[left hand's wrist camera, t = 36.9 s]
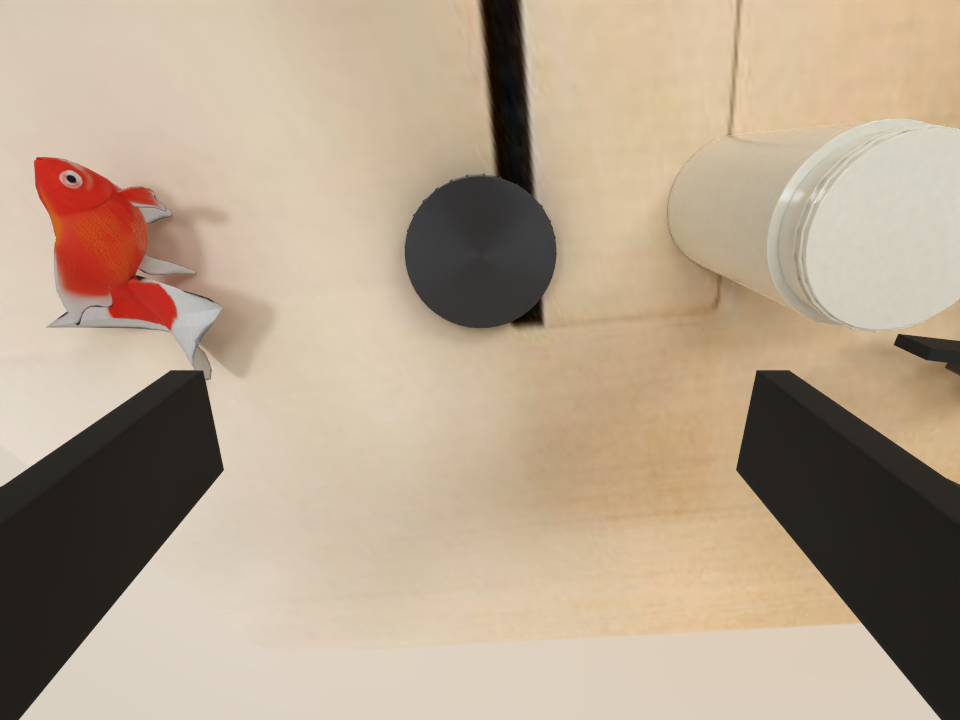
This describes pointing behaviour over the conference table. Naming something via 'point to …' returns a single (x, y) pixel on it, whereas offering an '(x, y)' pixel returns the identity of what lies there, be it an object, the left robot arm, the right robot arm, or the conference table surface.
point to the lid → (480, 251)
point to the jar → (830, 218)
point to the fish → (115, 259)
